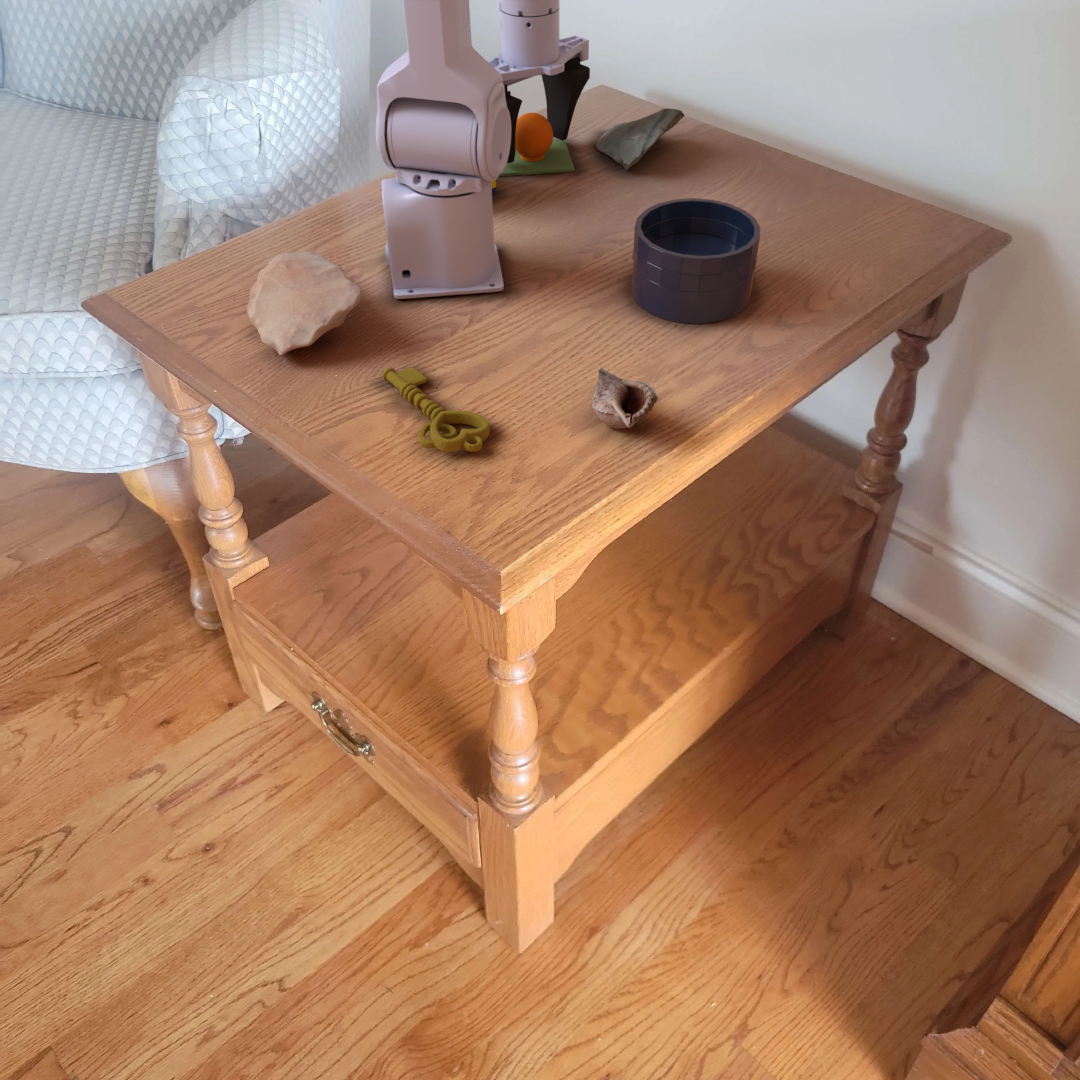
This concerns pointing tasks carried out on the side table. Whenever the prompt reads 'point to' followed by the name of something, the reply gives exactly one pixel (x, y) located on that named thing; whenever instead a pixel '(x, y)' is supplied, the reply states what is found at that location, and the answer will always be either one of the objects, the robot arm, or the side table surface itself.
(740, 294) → the pot
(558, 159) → the green flat plate
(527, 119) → the orange
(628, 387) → the seashell
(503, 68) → the robot arm
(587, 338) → the side table surface
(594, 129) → the side table surface
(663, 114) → the stone
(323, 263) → the stone tool
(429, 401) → the key
